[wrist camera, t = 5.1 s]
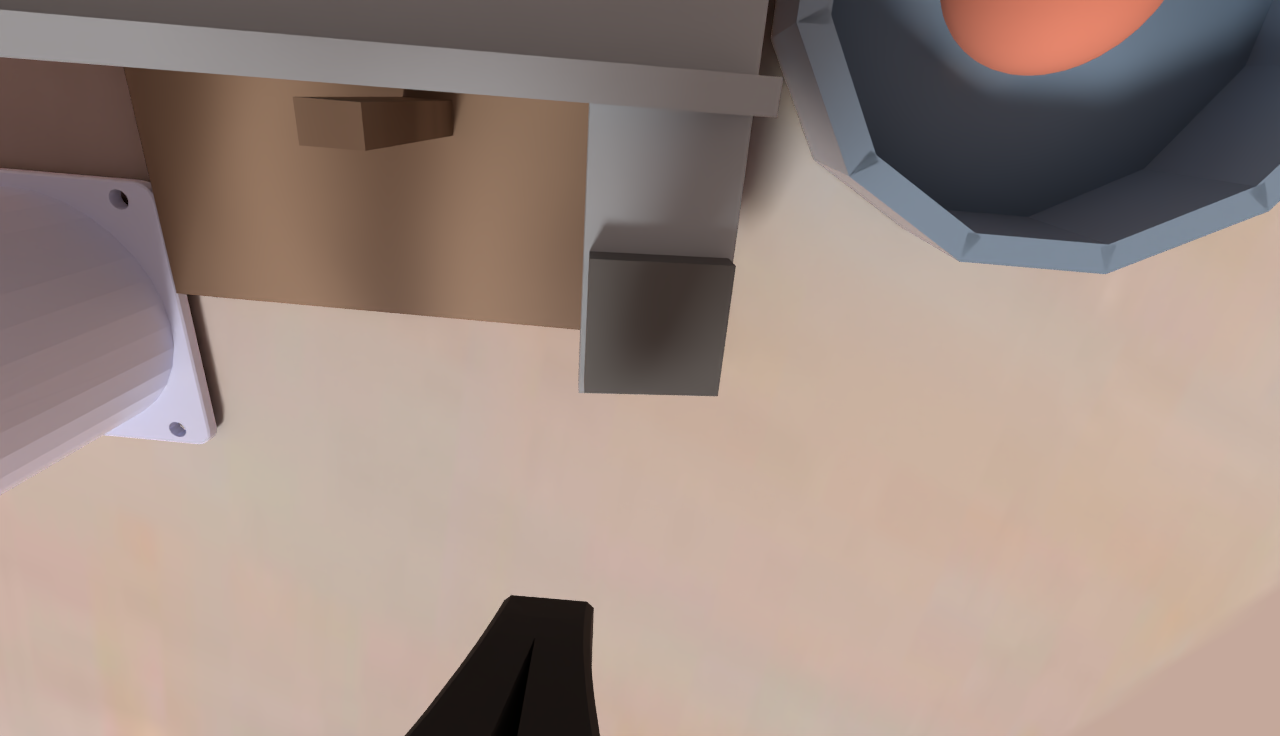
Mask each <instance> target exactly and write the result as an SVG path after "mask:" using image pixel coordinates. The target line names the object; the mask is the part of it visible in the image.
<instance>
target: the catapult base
mask: <svg viewBox="0 0 1280 736" xmlns="http://www.w3.org/2000/svg"><path fill="white" fill-rule="evenodd" d="M124 71H125V75H126V80H127V84H128V88H129V92H130V97H131V101H132V105H133V109H134V114H135V118H136V122H137V127H138V131H139V135H140V139H141V144H142V148H143V152H144V156H145V161H146V165H147V169H148V174H149V178H150V182H151V186H152V191H153V195H154V199H155V204H156V208H157V212H158V216H159V221H160V225H161V229H162V233H163V238H164V242H165V246H166V251H167V255H168V259H169V263H170V268H171V272H172V276H173V281H174V285H175V289H176V293H179V294H190V295H201V296H212V297H223V298H234V299H245V300H256V301H267V302H278V303H290V304H301V305H312V306H323V307H334V308H345V309H356V310H367V311H378V312H389V313H400V314H411V315H422V316H434V317H445V318H456V319H467V320H478V321H489V322H500V323H511V324H522V325H533V326H544V327H555V328H566V329H578V330H580V326H581V299H582V273H583V247H584V220H585V194H586V167H587V141H588V115H589V103H580V102H567V101H555V100H542V99H529V98H516V97H504V96H491V95H478V94H465V93H453V92H440V91H427V90H414V89H402V88H389V87H376V86H363V85H351V84H338V83H325V82H312V81H300V80H287V79H274V78H261V77H248V76H236V75H223V74H210V73H197V72H185V71H172V70H159V69H146V68H134V67H124Z"/></svg>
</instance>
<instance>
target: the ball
mask: <svg viewBox="0 0 1280 736" xmlns="http://www.w3.org/2000/svg"><path fill="white" fill-rule="evenodd" d="M1163 1H1164V0H940V2H941V9H942V13H943V17H944V20H945V23H946V25H947V27H948V29H949V31H950V33H951V35H952V37H953V39H954V40H955V41H956V43H957V44H958V45H959V46H960V47H961V49H962V50H963V51H964V52H965V53H966V54H968V55H969V56H970V57H971V58H973V59H974V60H975V61H977V62H978V63H980V64H982V65H984V66H986V67H988V68H990V69H992V70H996V71H1000V72H1003V73H1007V74H1011V75H1022V76H1034V75H1046V74H1051V73H1056V72H1061V71H1065V70H1068V69H1071V68H1074V67H1077V66H1080V65H1082V64H1084V63H1087V62H1089V61H1091V60H1093V59H1095V58H1097V57H1099V56H1101V55H1103V54H1104V53H1106V52H1107V51H1109V50H1111V49H1112V48H1114V47H1115V46H1117V45H1119V44H1120V43H1121V42H1123V41H1124V40H1125V39H1126V38H1128V37H1129V36H1130V35H1131V34H1133V33H1134V32H1135V31H1136V30H1137V29H1139V28H1140V27H1141V26H1142V25H1143V24H1144V23H1145V22H1146V20H1147V19H1148V18H1149V17H1150V16H1151V15H1152V14H1153V13H1154V12H1155V11H1156V10H1157V9H1158V7H1159V6H1160V5H1161V4H1162V2H1163Z"/></svg>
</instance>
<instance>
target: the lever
mask: <svg viewBox="0 0 1280 736" xmlns="http://www.w3.org/2000/svg"><path fill="white" fill-rule="evenodd" d="M768 2H769V0H0V57H6V58H19V59H32V60H44V61H57V62H70V63H83V64H95V65H108V66H121V67H134V68H146V69H159V70H172V71H185V72H197V73H210V74H223V75H236V76H248V77H261V78H274V79H287V80H300V81H312V82H325V83H338V84H351V85H363V86H376V87H389V88H402V89H414V90H427V91H440V92H453V93H465V94H478V95H491V96H504V97H516V98H529V99H542V100H555V101H567V102H580V103H589V115H588V141H587V167H586V194H585V220H584V247H583V273H582V299H581V326H580V352H579V393H607V394H648V395H689V396H718V390H719V382H720V375H721V368H722V361H723V354H724V346H725V339H726V332H727V325H728V317H729V310H730V303H731V296H732V289H733V281H734V274H735V267H736V266H735V265H734V264H733V259H734V251H735V244H736V237H737V229H738V222H739V215H740V207H741V200H742V193H743V185H744V178H745V171H746V163H747V156H748V149H749V141H750V134H751V127H752V119H753V116H759V117H772V118H777V116H778V109H779V102H780V96H781V89H782V82H783V77H774V76H763V75H759V68H760V61H761V53H762V46H763V39H764V31H765V24H766V17H767V9H768Z"/></svg>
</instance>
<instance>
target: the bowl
mask: <svg viewBox="0 0 1280 736" xmlns="http://www.w3.org/2000/svg"><path fill="white" fill-rule="evenodd" d="M770 39H771V42H772V45H773V48H774V51H775V53H776V56H777V59H778V62H779V65H780V67H781V70H782V73H783V76H784V79H785V81H786V84H787V87H788V90H789V92H790V95H791V98H792V101H793V104H794V106H795V109H796V112H797V115H798V118H799V120H800V123H801V126H802V129H803V131H804V134H805V137H806V140H807V143H808V145H809V148H810V151H811V154H812V157H813V159H814V160H815V161H816V162H817V163H819V164H820V165H821V166H823V167H824V168H825V169H827V170H828V171H829V172H830V173H832V174H833V175H834V176H836V177H837V178H838V179H840V180H841V181H842V182H843V183H845V184H846V185H847V186H849V187H850V188H851V189H853V190H854V191H855V192H856V193H858V194H859V195H860V196H862V197H863V198H864V199H866V200H867V201H868V202H869V203H871V204H872V205H873V206H875V207H876V208H877V209H879V210H880V211H881V212H883V213H884V214H885V215H886V216H888V217H889V218H890V219H892V220H893V221H894V222H896V223H897V224H898V225H899V226H901V227H902V228H904V229H905V230H907V231H909V232H910V233H912V234H914V235H915V236H917V237H919V238H920V239H922V240H924V241H926V242H927V243H929V244H931V245H932V246H934V247H936V248H937V249H939V250H941V251H943V252H944V253H946V254H948V255H949V256H951V257H953V258H954V259H956V260H958V261H960V262H972V263H983V264H995V265H1006V266H1018V267H1030V268H1041V269H1053V270H1064V271H1076V272H1087V273H1099V274H1107V273H1110V272H1112V271H1115V270H1117V269H1120V268H1123V267H1125V266H1128V265H1130V264H1133V263H1136V262H1138V261H1141V260H1143V259H1146V258H1149V257H1151V256H1154V255H1156V254H1159V253H1162V252H1164V251H1167V250H1169V249H1172V248H1174V247H1177V246H1180V245H1182V244H1185V243H1187V242H1190V241H1193V240H1195V239H1198V238H1200V237H1203V236H1206V235H1208V234H1211V233H1213V232H1216V231H1219V230H1221V229H1224V228H1226V227H1229V226H1232V225H1234V224H1237V223H1239V222H1242V221H1244V220H1247V219H1250V218H1252V217H1255V216H1257V215H1260V214H1263V213H1265V212H1268V211H1269V210H1270V209H1272V208H1273V207H1274V206H1275V205H1276V204H1277V203H1278V202H1279V201H1280V0H1164V1H1163V2H1162V4H1161V5H1160V6H1159V7H1158V9H1157V10H1156V11H1155V12H1154V13H1153V14H1152V15H1151V16H1150V17H1149V18H1148V19H1147V20H1146V22H1145V23H1144V24H1143V25H1142V26H1141V27H1140V28H1139V29H1137V30H1136V31H1135V32H1134V33H1133V34H1131V35H1130V36H1129V37H1128V38H1126V39H1125V40H1124V41H1123V42H1121V43H1120V44H1119V45H1117V46H1115V47H1114V48H1112V49H1111V50H1109V51H1107V52H1106V53H1104V54H1103V55H1101V56H1099V57H1097V58H1095V59H1093V60H1091V61H1089V62H1087V63H1084V64H1082V65H1080V66H1077V67H1074V68H1071V69H1068V70H1065V71H1061V72H1056V73H1051V74H1046V75H1034V76H1022V75H1011V74H1007V73H1003V72H1000V71H996V70H992V69H990V68H988V67H986V66H984V65H982V64H980V63H978V62H977V61H975V60H974V59H973V58H971V57H970V56H969V55H968V54H966V53H965V52H964V51H963V50H962V49H961V47H960V46H959V45H958V44H957V43H956V41H955V40H954V39H953V37H952V35H951V33H950V31H949V29H948V27H947V25H946V23H945V20H944V17H943V13H942V9H941V2H940V0H776V2H775V9H774V16H773V23H772V30H771V38H770Z"/></svg>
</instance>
